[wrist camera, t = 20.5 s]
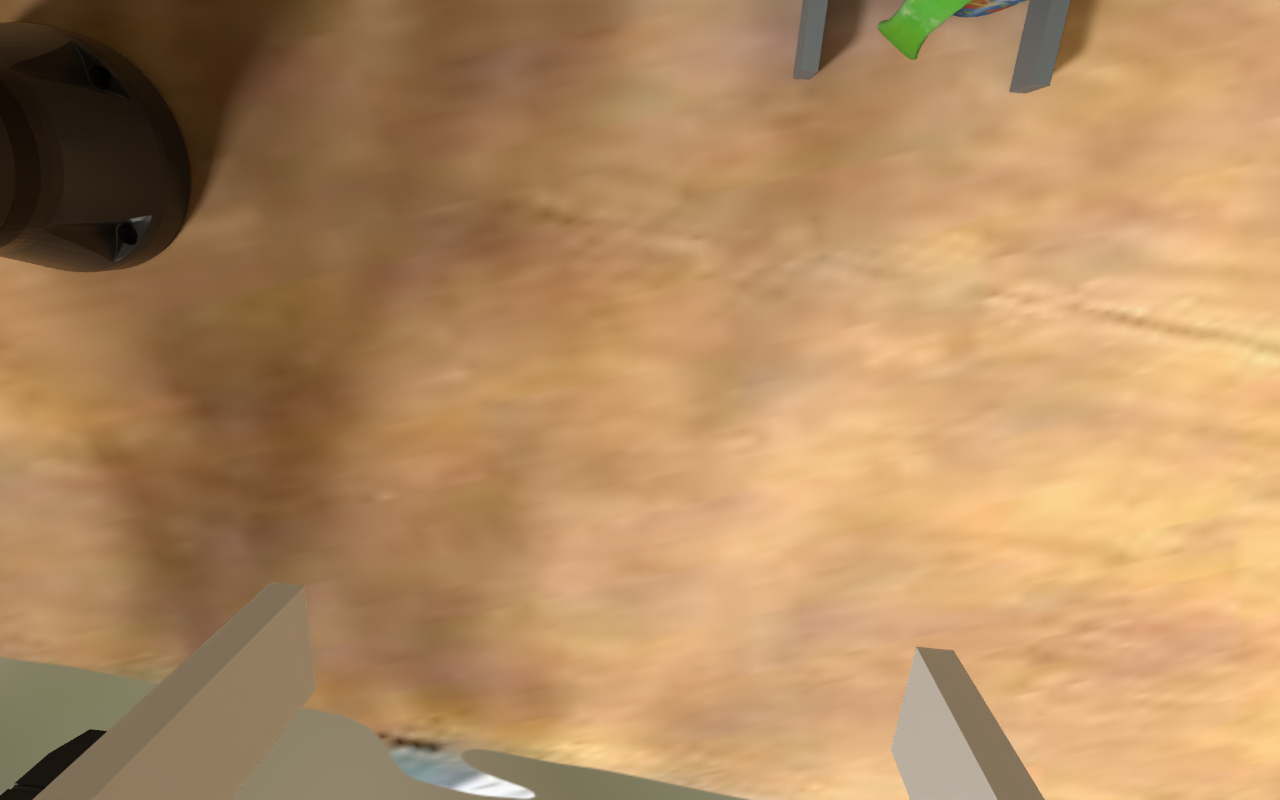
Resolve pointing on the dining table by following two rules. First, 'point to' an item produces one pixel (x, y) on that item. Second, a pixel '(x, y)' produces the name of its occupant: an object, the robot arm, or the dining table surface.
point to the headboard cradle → (1032, 57)
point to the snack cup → (932, 19)
